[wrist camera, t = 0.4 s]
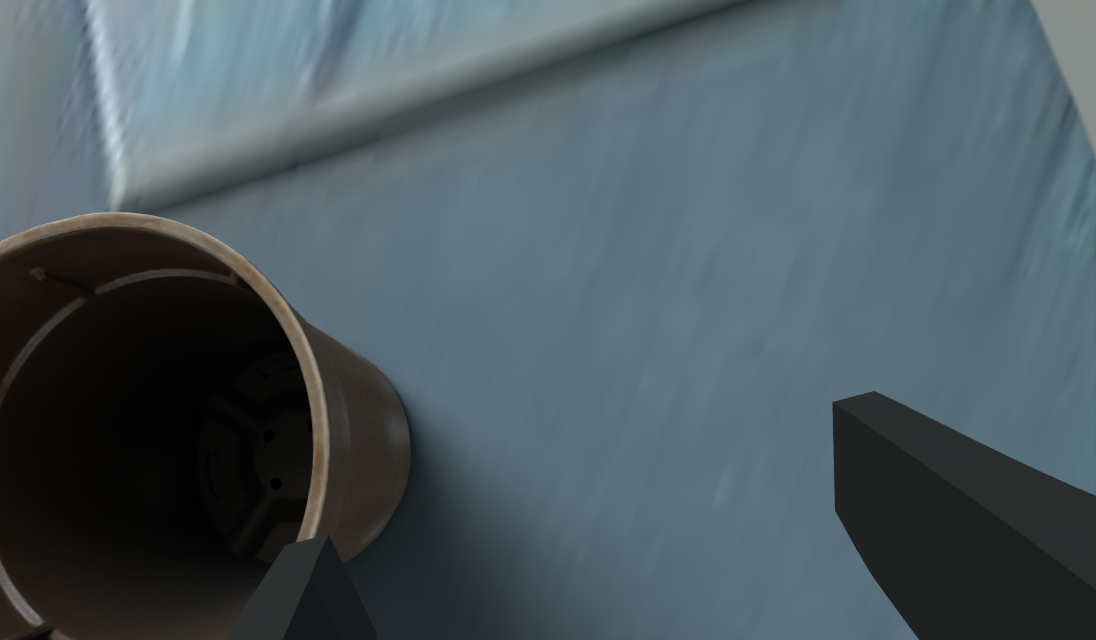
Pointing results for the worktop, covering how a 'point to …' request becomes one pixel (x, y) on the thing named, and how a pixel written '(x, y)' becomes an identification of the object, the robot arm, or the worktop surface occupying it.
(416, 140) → the worktop surface
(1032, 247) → the worktop surface
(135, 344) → the plant pot
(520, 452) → the worktop surface
